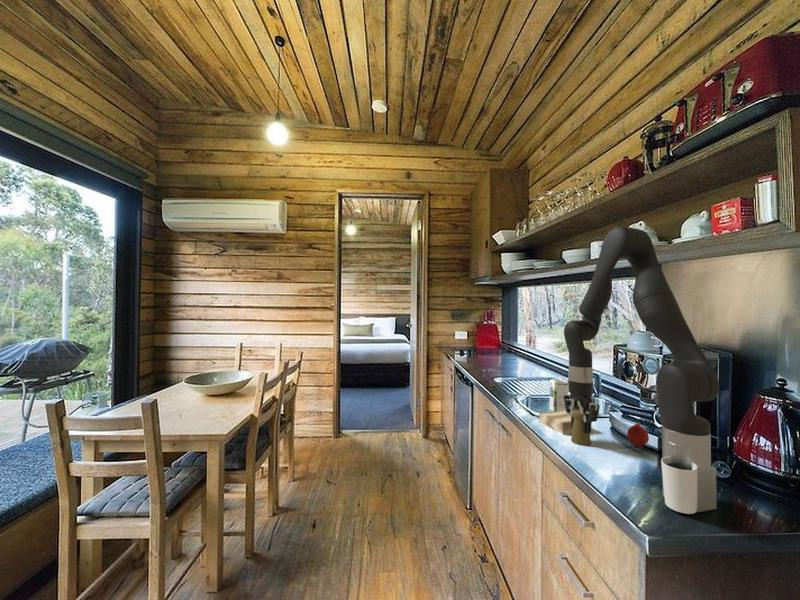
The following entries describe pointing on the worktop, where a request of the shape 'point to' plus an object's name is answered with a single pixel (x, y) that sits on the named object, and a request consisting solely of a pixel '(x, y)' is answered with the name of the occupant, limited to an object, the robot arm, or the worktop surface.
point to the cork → (579, 430)
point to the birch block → (557, 421)
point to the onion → (637, 435)
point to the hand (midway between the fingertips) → (580, 429)
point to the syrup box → (558, 394)
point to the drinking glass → (679, 486)
